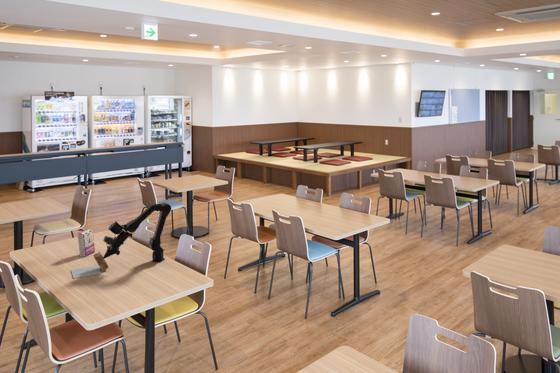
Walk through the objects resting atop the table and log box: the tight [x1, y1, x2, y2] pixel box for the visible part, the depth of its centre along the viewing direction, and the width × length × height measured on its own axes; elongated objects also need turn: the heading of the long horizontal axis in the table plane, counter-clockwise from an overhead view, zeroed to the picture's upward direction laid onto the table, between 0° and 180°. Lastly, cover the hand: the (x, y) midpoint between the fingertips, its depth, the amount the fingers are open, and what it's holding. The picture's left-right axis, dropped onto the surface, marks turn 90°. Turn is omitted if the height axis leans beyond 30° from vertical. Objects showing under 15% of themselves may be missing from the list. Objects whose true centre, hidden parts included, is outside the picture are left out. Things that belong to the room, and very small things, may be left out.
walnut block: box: [93, 251, 110, 272], centre depth 305 cm, size 4×7×10 cm, turn 25°
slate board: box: [70, 265, 102, 279], centre depth 302 cm, size 16×16×1 cm
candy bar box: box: [77, 229, 96, 258], centre depth 336 cm, size 11×5×16 cm, turn 168°
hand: (103, 258), depth 306 cm, fingers closed
